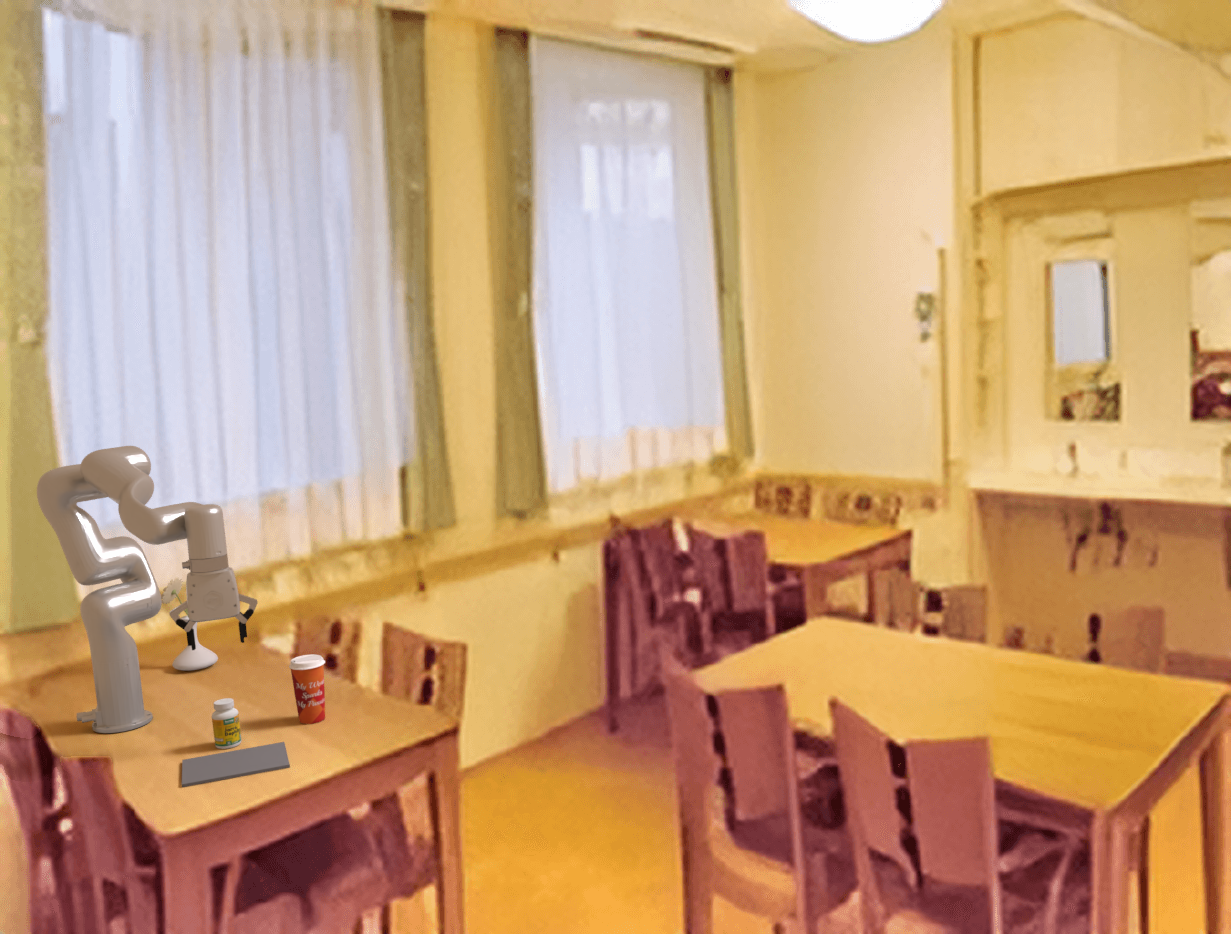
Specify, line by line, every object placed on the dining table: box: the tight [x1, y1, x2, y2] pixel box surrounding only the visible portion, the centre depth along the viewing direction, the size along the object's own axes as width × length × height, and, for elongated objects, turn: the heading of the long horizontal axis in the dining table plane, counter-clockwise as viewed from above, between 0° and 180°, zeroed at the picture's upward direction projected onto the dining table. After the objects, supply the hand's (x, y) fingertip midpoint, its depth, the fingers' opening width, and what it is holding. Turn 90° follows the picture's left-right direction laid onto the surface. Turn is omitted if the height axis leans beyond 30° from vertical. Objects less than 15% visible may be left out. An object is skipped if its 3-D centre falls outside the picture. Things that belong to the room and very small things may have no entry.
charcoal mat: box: [181, 741, 291, 788], centre depth 225 cm, size 20×14×1 cm
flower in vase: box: [161, 577, 219, 672], centre depth 294 cm, size 13×11×25 cm
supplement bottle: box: [211, 697, 242, 750], centre depth 236 cm, size 5×5×10 cm
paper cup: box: [288, 653, 326, 725], centre depth 248 cm, size 8×8×14 cm
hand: (218, 644), depth 234 cm, fingers open, 9 cm apart
